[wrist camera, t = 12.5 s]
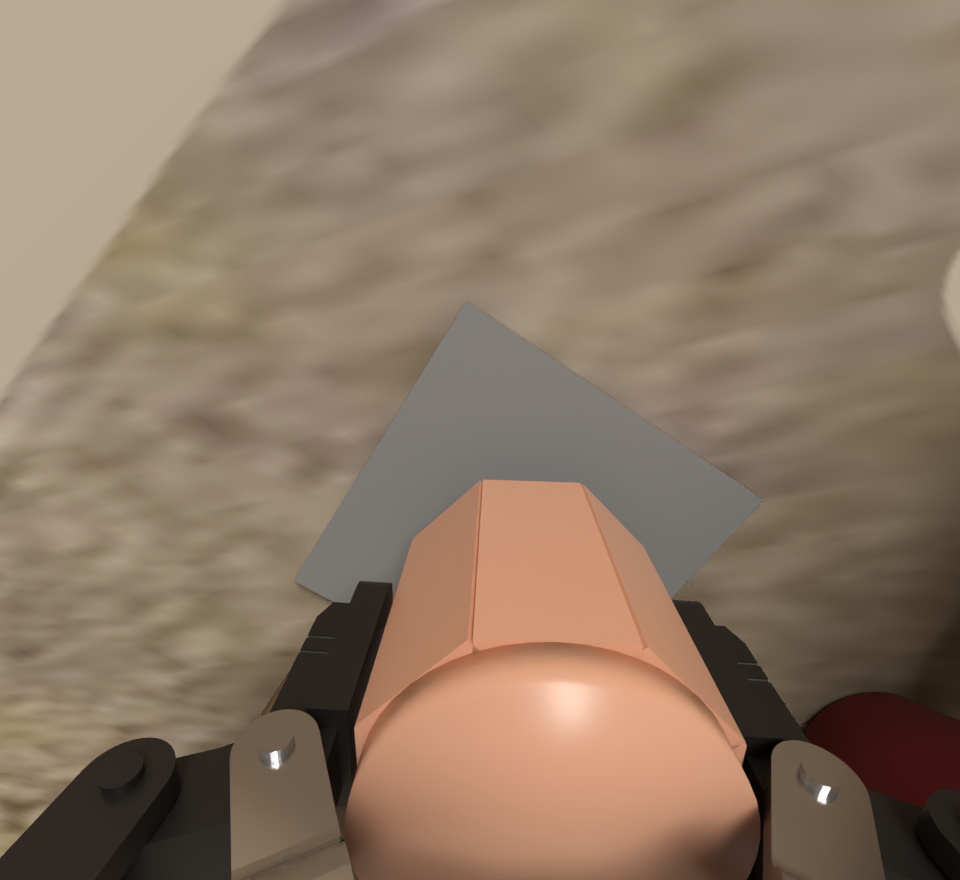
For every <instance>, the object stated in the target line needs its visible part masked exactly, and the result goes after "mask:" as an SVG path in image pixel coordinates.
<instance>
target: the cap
mask: <svg viewBox="0 0 960 880" xmlns="http://www.w3.org/2000/svg"><path fill="white" fill-rule="evenodd" d="M354 732H355V744H356V757H357V770H356V774H355V777H354V781H353V785H352V788H351V792H350V795H349V799H348V804H347V809H346V814H345V842H346V846H347V850H348V854H349V859H350V862H351V864H352V867H353V870H354V872H355V874H356V876H357V877H358V879H359V880H747V878H748V877H749V875H750V873H751V870H752V868H753V865H754V863H755V860H756V858H757V853H758V848H759V843H760V815H759V810H758V804H757V800H756V798H755V795H754V793H753V790H752V788H751V785H750V783H749V780H748V778H747V776H746V774H745V772H744V770H743V768H742V763H743V759H744V755H745V751H746V748H747V745H746V742H745V740H744V738H743V736H742V734H741V732H740V730H739V728H738V726H737V724H736V723H735V721H734V719H733V717H732V715H731V713H730V711H729V709H728V707H727V705H726V703H725V701H724V700H723V698H722V696H721V694H720V692H719V690H718V688H717V686H716V684H715V682H714V680H713V679H712V677H711V675H710V673H709V671H708V669H707V667H706V665H705V663H704V661H703V659H702V657H701V656H700V654H699V652H698V650H697V648H696V646H695V644H694V642H693V640H692V638H691V636H690V634H689V633H688V631H687V629H686V627H685V625H684V623H683V621H682V619H681V617H680V615H679V613H678V612H677V610H676V608H675V606H674V604H673V602H672V600H671V598H670V596H669V594H668V592H667V590H666V589H665V587H664V585H663V583H662V581H661V579H660V577H659V575H658V573H657V571H656V569H655V568H654V566H653V564H652V562H651V560H650V558H649V556H648V554H647V552H646V550H645V548H644V547H643V546H642V544H641V543H640V542H639V541H638V540H637V539H636V538H635V537H634V536H633V535H632V534H631V533H630V532H629V531H628V530H627V529H626V528H625V527H624V526H623V525H622V524H621V523H620V522H619V521H618V520H617V519H616V517H615V516H614V515H613V514H612V513H611V512H610V511H609V510H608V509H607V508H606V507H605V506H604V505H603V504H602V503H601V502H600V501H599V500H598V499H597V498H596V497H595V496H594V495H593V494H592V493H591V492H590V491H589V489H588V488H587V487H586V486H585V485H584V484H583V485H581V483H573V482H543V481H513V480H483V483H482V482H481V481H479V482H478V483H476V484H475V485H474V486H473V487H472V488H471V489H470V490H468V491H467V492H466V493H465V494H464V495H463V496H461V497H460V498H459V499H458V500H457V501H456V502H454V503H453V504H452V505H451V506H450V507H449V508H448V509H446V510H445V511H444V512H443V513H442V514H441V515H439V516H438V517H437V518H436V519H435V520H434V521H433V522H431V523H430V524H429V525H428V526H427V527H426V528H424V529H423V530H422V531H421V532H420V533H419V534H418V535H416V536H415V537H414V538H413V540H412V542H411V545H410V549H409V552H408V555H407V559H406V562H405V565H404V568H403V572H402V575H401V578H400V581H399V585H398V588H397V591H396V594H395V598H394V601H393V604H392V607H391V611H390V614H389V617H388V620H387V624H386V627H385V630H384V633H383V637H382V640H381V643H380V646H379V650H378V653H377V656H376V659H375V663H374V666H373V669H372V672H371V676H370V679H369V682H368V685H367V689H366V692H365V695H364V698H363V702H362V705H361V708H360V711H359V715H358V718H357V721H356V725H355V728H354Z"/></svg>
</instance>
